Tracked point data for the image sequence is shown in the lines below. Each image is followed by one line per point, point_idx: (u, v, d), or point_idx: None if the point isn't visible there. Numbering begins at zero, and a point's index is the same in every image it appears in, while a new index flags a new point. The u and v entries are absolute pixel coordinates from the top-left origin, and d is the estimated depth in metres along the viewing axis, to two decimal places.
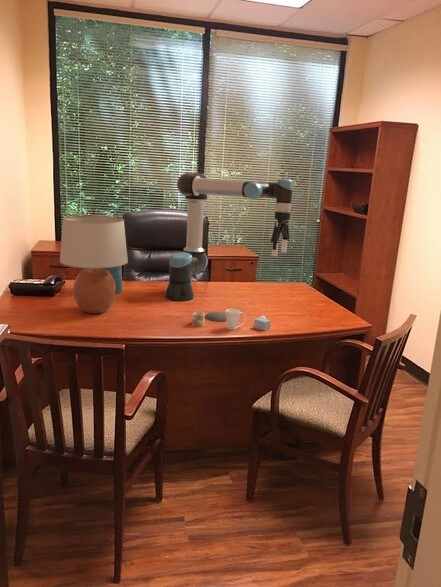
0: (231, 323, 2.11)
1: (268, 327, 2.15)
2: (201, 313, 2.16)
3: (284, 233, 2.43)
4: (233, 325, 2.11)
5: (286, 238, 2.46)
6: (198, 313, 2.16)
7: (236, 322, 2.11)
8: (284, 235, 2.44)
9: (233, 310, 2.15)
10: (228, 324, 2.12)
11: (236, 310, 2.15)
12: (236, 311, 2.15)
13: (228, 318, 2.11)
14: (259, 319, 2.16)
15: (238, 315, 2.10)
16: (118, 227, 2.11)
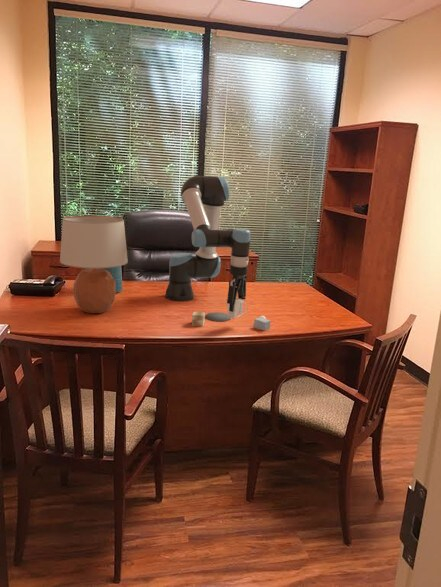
0: None
1: (268, 327, 2.15)
2: (201, 313, 2.16)
3: (240, 290, 2.13)
4: None
5: (242, 297, 2.15)
6: (198, 313, 2.16)
7: (237, 310, 2.11)
8: (240, 293, 2.14)
9: None
10: (228, 312, 2.11)
11: (237, 299, 2.14)
12: (237, 300, 2.15)
13: None
14: (259, 319, 2.16)
15: (239, 303, 2.10)
16: (118, 227, 2.11)
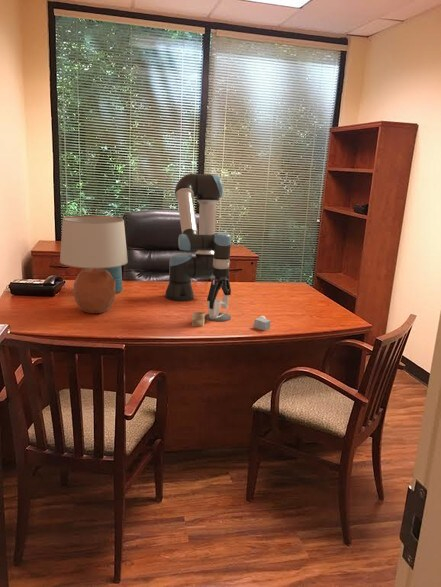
0: None
1: (268, 327, 2.15)
2: (201, 313, 2.16)
3: (224, 289, 2.28)
4: None
5: (227, 293, 2.31)
6: (198, 313, 2.16)
7: (217, 311, 2.23)
8: (225, 291, 2.30)
9: (215, 300, 2.27)
10: None
11: (218, 300, 2.26)
12: (218, 301, 2.26)
13: None
14: (259, 319, 2.16)
15: (219, 305, 2.22)
16: (118, 227, 2.11)
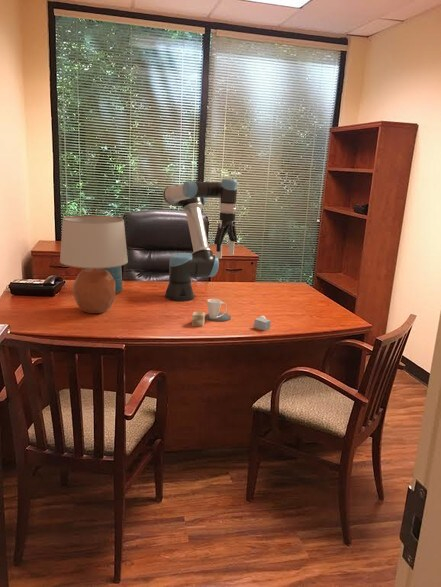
0: (212, 312, 2.23)
1: (268, 327, 2.15)
2: (201, 313, 2.16)
3: (230, 234, 2.37)
4: (214, 314, 2.23)
5: (233, 240, 2.39)
6: (198, 313, 2.16)
7: (217, 311, 2.23)
8: (231, 237, 2.38)
9: (215, 300, 2.27)
10: (209, 313, 2.24)
11: (218, 300, 2.26)
12: (218, 301, 2.26)
13: (209, 307, 2.22)
14: (259, 319, 2.16)
15: (219, 305, 2.22)
16: (118, 227, 2.11)
